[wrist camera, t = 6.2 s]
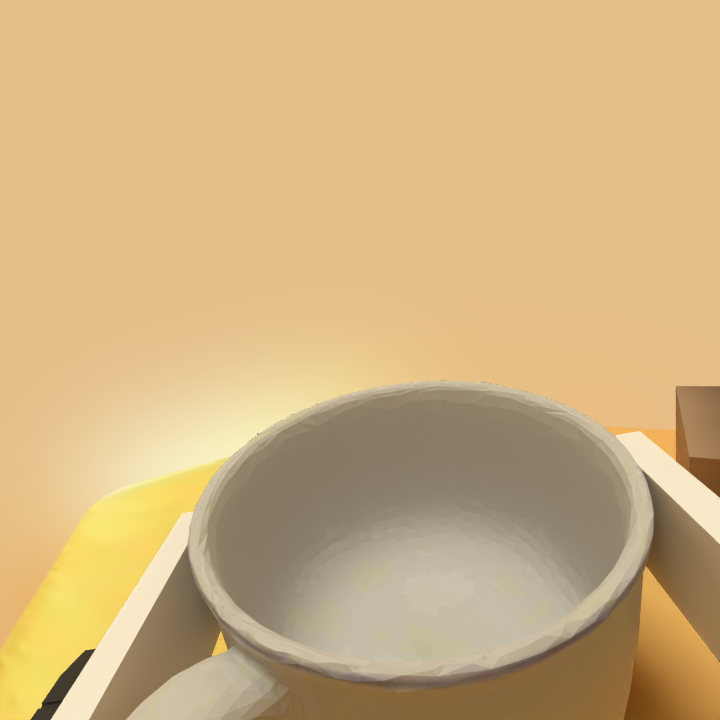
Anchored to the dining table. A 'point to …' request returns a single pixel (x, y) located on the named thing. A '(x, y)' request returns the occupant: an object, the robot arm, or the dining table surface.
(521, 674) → the teacup
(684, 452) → the walnut block
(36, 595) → the dining table surface
